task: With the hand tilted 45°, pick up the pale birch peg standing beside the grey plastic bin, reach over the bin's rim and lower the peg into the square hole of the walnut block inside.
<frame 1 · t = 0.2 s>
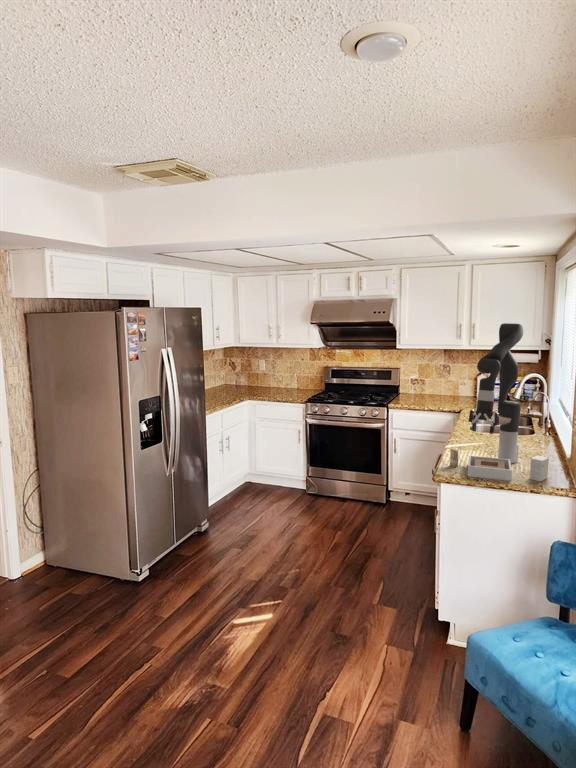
hand: (482, 432, 254), 22 cm above the countertop, tool pointing down, fingers open, 8 cm apart
small box: (538, 479, 254), on the countertop
bin: (488, 473, 262), on the countertop
peg: (453, 466, 273), on the countertop
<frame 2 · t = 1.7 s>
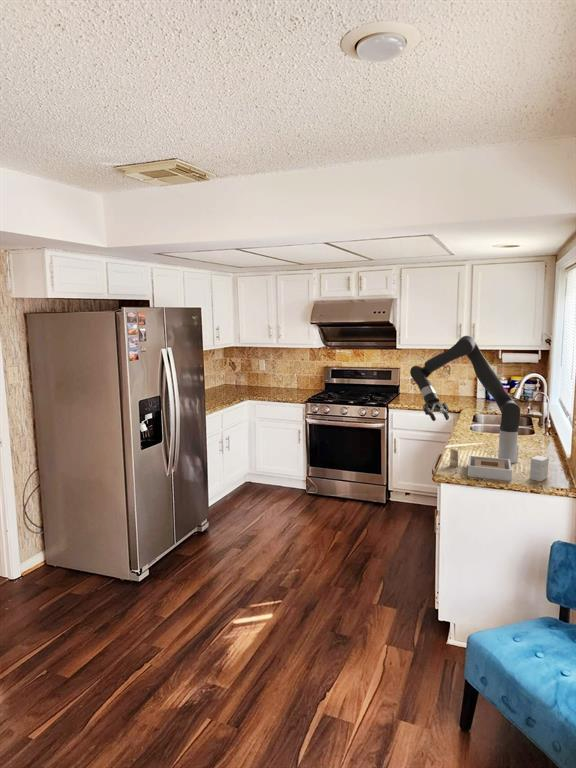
hand: (441, 419, 281), 23 cm above the countertop, tool tilted 45°, fingers open, 8 cm apart
nothing on the countertop moved.
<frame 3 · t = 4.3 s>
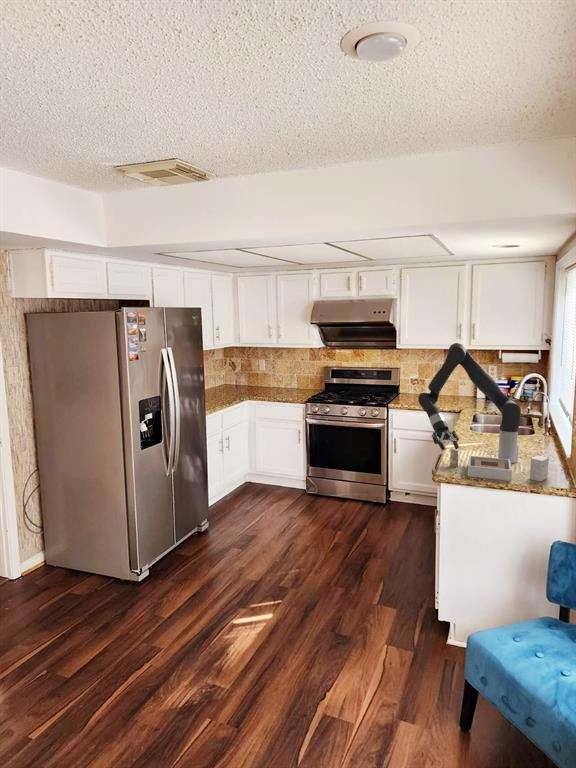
hand: (450, 449, 275), 9 cm above the countertop, tool tilted 45°, fingers open, 8 cm apart
nothing on the countertop moved.
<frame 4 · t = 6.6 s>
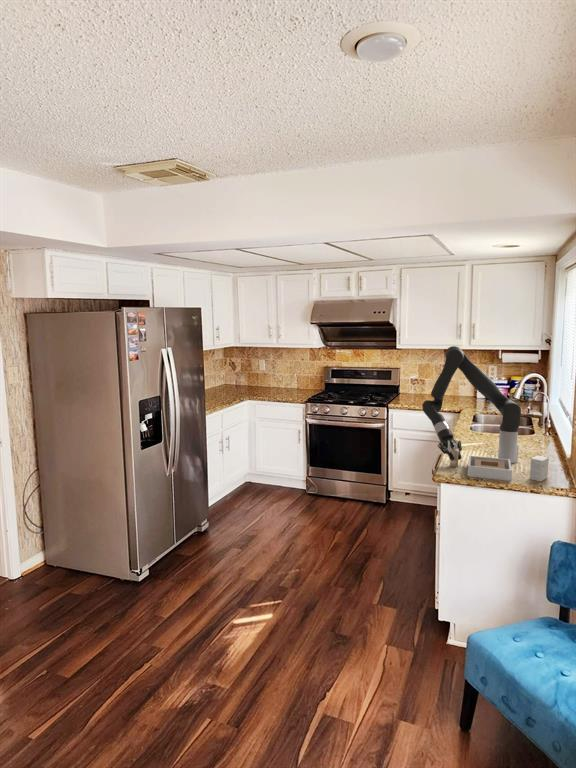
hand: (456, 459, 271), 5 cm above the countertop, tool tilted 45°, fingers closed on peg, 4 cm apart
peg: (453, 466, 273), on the countertop, touching gripper
everything else where it was.
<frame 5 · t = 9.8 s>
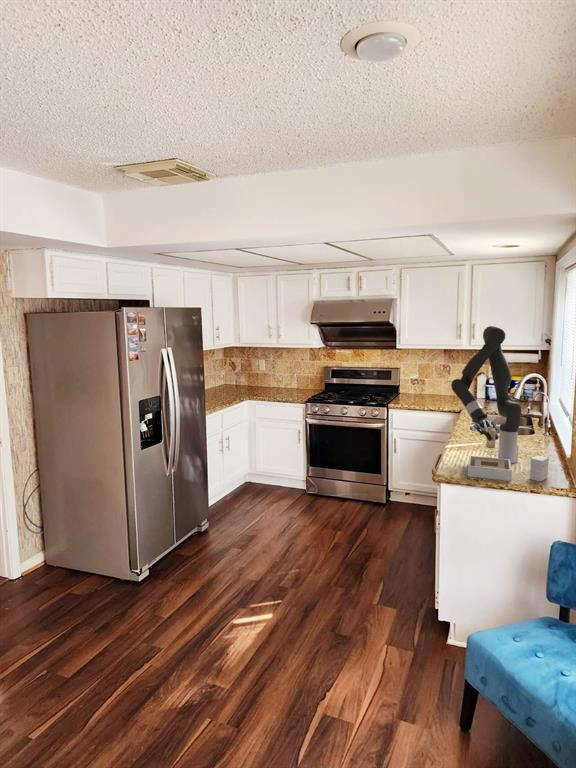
hand: (494, 439, 259), 18 cm above the countertop, tool tilted 45°, fingers closed on peg, 4 cm apart
peg: (490, 447, 261), point 13 cm above the countertop, touching gripper
everything else where it was.
when the fingers open (6 cm above the countertop, at t = 13.1 s): peg drops 1 cm, resting on bin.
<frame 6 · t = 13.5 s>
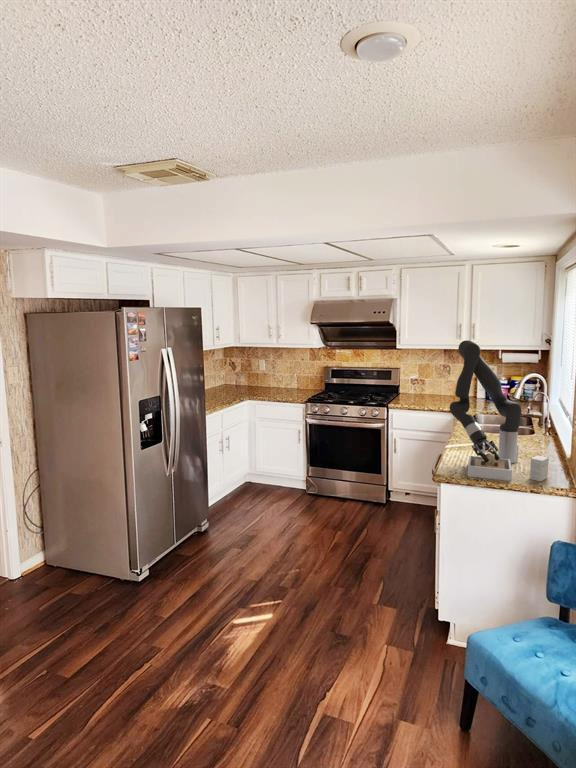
hand: (492, 460, 260), 7 cm above the countertop, tool tilted 45°, fingers open, 7 cm apart
peg: (489, 472, 263), resting on bin
everything else where it was.
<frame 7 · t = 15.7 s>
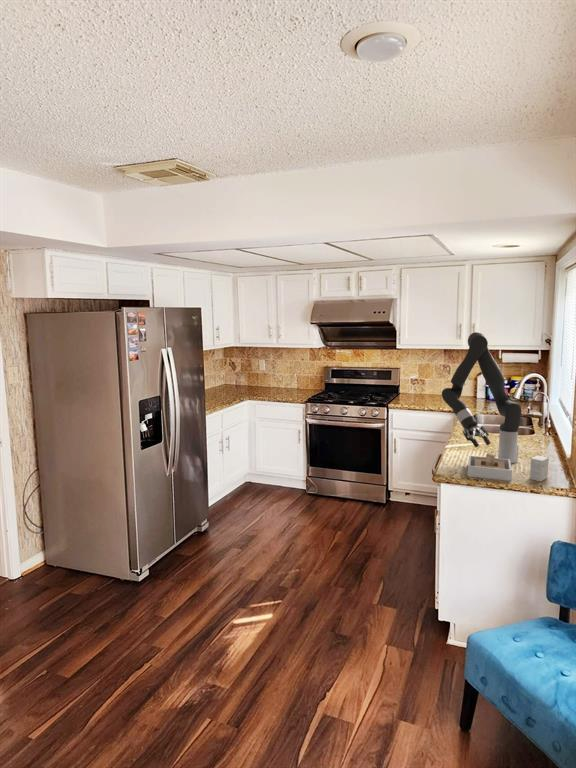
hand: (483, 445, 265), 13 cm above the countertop, tool tilted 45°, fingers open, 8 cm apart
nothing on the countertop moved.
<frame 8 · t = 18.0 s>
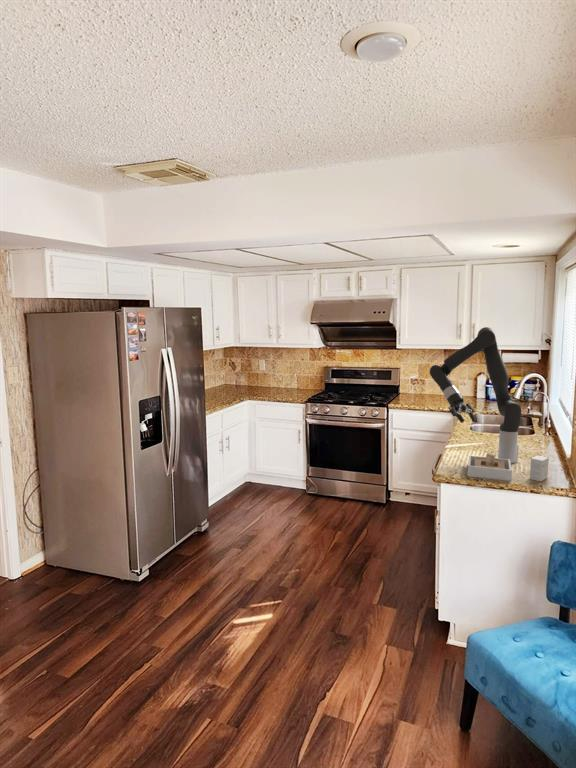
hand: (468, 421, 270), 25 cm above the countertop, tool tilted 45°, fingers open, 8 cm apart
nothing on the countertop moved.
at the end: peg 0.5 cm off-centre on the bin, point 0.4 cm above the bin's base; peg tilted 0°; the gripper is holding nothing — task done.
